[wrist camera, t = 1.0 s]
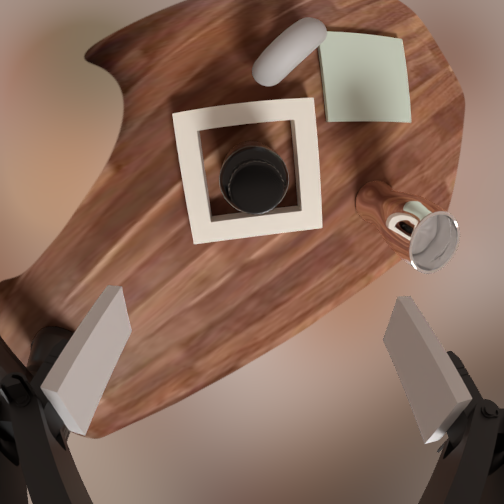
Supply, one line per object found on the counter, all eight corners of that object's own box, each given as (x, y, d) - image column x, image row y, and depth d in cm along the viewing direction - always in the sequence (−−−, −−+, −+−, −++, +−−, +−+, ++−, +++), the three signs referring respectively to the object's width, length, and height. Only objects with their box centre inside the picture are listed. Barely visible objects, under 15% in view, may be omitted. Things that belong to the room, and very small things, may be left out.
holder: (196, 236, 40) (194, 244, 38) (176, 114, 33) (172, 113, 31) (317, 221, 40) (322, 228, 38) (308, 99, 33) (313, 97, 31)
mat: (326, 121, 35) (328, 121, 34) (315, 32, 30) (317, 30, 29) (407, 122, 35) (411, 122, 34) (398, 40, 30) (402, 39, 29)
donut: (298, 27, 29) (320, -1, 20) (319, 45, 31) (346, 23, 21) (243, 78, 32) (246, 62, 23) (264, 96, 33) (276, 87, 24)
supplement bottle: (241, 129, 35) (245, 132, 24) (288, 159, 37) (312, 176, 26) (211, 177, 37) (202, 201, 26) (258, 204, 39) (268, 239, 28)
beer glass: (393, 225, 41) (453, 272, 27) (350, 226, 41) (402, 279, 27) (398, 177, 38) (466, 209, 24) (353, 176, 38) (413, 209, 24)
